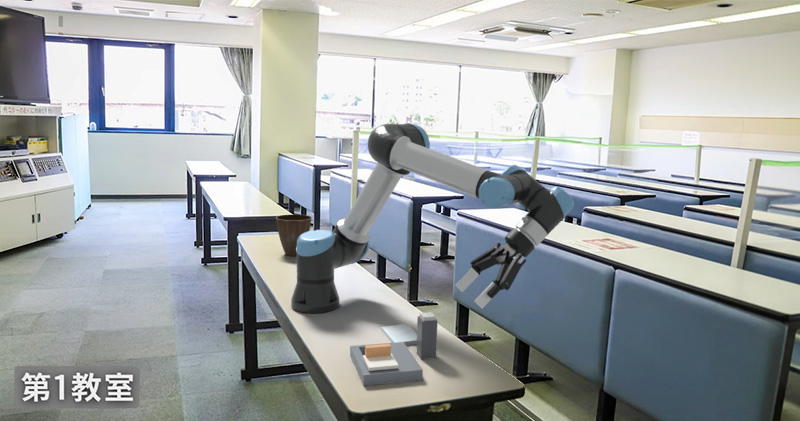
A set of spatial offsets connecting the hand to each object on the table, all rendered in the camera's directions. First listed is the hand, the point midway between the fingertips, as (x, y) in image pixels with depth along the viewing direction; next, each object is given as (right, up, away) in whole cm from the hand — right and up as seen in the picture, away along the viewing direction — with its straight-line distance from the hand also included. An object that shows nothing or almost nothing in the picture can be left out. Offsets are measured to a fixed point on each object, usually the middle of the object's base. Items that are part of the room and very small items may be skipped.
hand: (467, 296), depth 150 cm
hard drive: (-17, -14, +12) cm, 25 cm away
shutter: (-22, -14, -12) cm, 29 cm away
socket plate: (-21, -16, -8) cm, 28 cm away
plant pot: (-63, +3, +101) cm, 119 cm away
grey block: (-11, -15, 0) cm, 19 cm away
